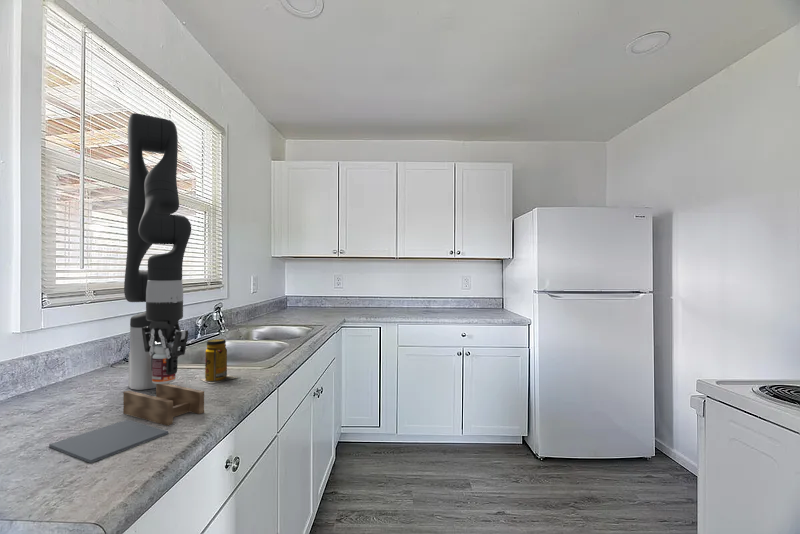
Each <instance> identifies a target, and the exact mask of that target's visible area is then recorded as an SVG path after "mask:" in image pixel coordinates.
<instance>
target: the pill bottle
mask: <svg viewBox="0 0 800 534" xmlns="http://www.w3.org/2000/svg"><path fill="white" fill-rule="evenodd" d="M170 349H171V352H172V349H173V348H170ZM154 352H155V354H154V355H153V358H152V382H153V383H155V384H165V383H167V384H170V383H174V382H175V381H176V375H177V372H176V373H175V374H171V375H168V374H166V359H167V356H166V351H165V349H163V347H162V345H157V346H155V347H154Z"/></svg>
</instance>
